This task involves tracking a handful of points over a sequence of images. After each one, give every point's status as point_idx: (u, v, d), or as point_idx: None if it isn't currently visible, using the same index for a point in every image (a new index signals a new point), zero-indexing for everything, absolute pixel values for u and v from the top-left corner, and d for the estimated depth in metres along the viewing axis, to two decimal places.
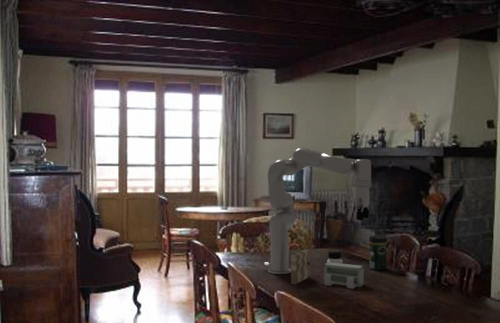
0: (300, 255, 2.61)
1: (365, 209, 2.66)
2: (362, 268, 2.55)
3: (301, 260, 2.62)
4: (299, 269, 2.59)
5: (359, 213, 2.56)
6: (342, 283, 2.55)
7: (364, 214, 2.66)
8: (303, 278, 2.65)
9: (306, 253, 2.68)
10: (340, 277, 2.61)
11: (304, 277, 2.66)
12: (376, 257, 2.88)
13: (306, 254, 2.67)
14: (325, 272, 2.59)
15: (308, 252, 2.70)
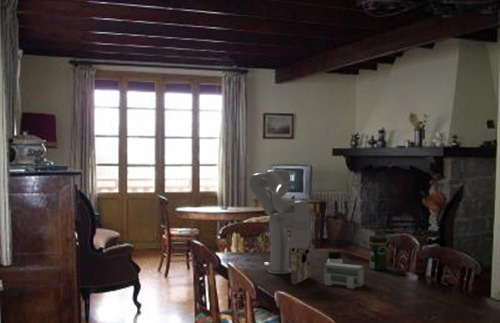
0: (300, 255, 2.61)
1: None
2: (362, 268, 2.55)
3: (301, 260, 2.62)
4: (299, 269, 2.59)
5: (305, 256, 2.63)
6: (342, 283, 2.55)
7: None
8: (303, 278, 2.65)
9: None
10: (340, 277, 2.61)
11: (304, 277, 2.66)
12: (376, 257, 2.88)
13: None
14: (325, 272, 2.59)
15: (308, 252, 2.70)
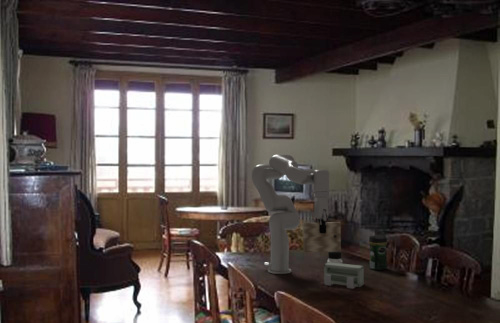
0: (316, 225, 2.57)
1: None
2: (362, 268, 2.55)
3: (319, 230, 2.57)
4: (313, 238, 2.56)
5: (323, 226, 2.56)
6: (342, 283, 2.55)
7: None
8: (324, 250, 2.57)
9: (332, 225, 2.58)
10: (340, 277, 2.61)
11: (327, 249, 2.57)
12: (376, 257, 2.88)
13: (330, 225, 2.58)
14: (325, 272, 2.59)
15: (337, 224, 2.58)
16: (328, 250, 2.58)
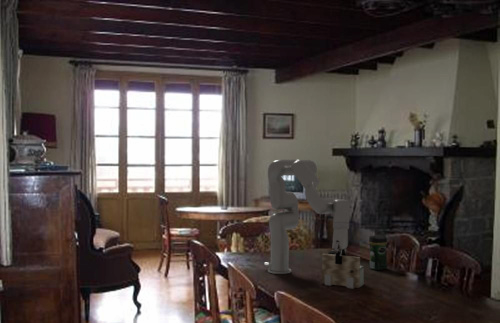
0: (333, 257, 2.55)
1: (342, 252, 2.56)
2: (362, 268, 2.55)
3: None
4: (329, 270, 2.55)
5: (338, 257, 2.50)
6: None
7: None
8: (341, 283, 2.53)
9: (350, 259, 2.51)
10: None
11: (344, 283, 2.52)
12: (376, 257, 2.88)
13: (348, 259, 2.51)
14: None
15: (355, 260, 2.49)
16: (345, 284, 2.52)
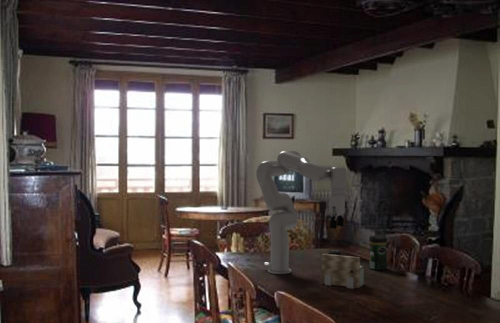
0: (333, 257, 2.54)
1: (340, 217, 2.63)
2: (362, 268, 2.55)
3: (336, 263, 2.54)
4: (329, 270, 2.55)
5: (332, 221, 2.54)
6: None
7: (339, 222, 2.63)
8: (341, 283, 2.53)
9: (350, 259, 2.50)
10: None
11: (344, 283, 2.52)
12: (376, 257, 2.88)
13: (348, 260, 2.51)
14: None
15: (355, 260, 2.49)
16: (345, 285, 2.52)
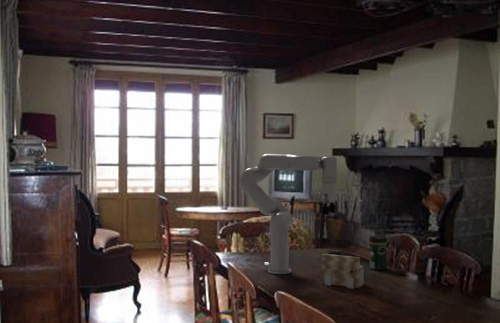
0: (333, 257, 2.54)
1: (332, 204, 2.78)
2: (362, 268, 2.55)
3: (336, 263, 2.54)
4: (329, 270, 2.55)
5: (325, 208, 2.69)
6: None
7: (331, 209, 2.78)
8: (341, 283, 2.53)
9: (350, 259, 2.50)
10: None
11: (344, 283, 2.52)
12: (376, 257, 2.88)
13: (348, 260, 2.51)
14: None
15: (355, 260, 2.49)
16: (345, 285, 2.52)
